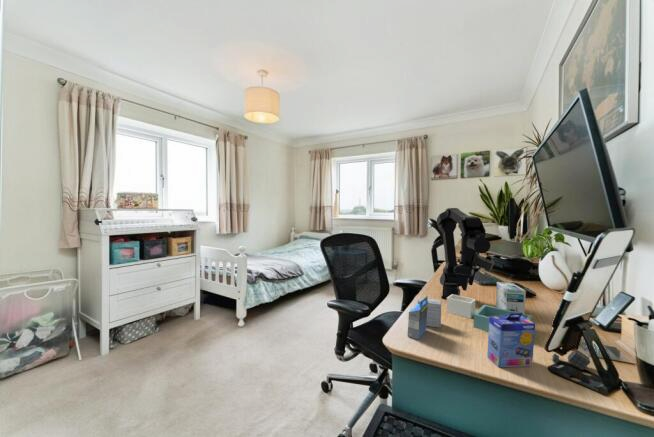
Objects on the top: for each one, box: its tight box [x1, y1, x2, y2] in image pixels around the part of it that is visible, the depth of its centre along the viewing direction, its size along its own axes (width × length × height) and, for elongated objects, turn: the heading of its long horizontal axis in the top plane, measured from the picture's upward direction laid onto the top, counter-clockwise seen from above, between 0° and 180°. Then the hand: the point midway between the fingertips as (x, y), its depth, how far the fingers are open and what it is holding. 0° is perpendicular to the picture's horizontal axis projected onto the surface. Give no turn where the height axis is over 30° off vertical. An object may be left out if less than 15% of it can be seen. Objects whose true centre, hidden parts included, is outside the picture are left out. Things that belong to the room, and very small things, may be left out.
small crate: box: [445, 294, 477, 319], centre depth 109 cm, size 9×6×6 cm, turn 47°
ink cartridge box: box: [487, 313, 536, 368], centre depth 75 cm, size 10×6×14 cm, turn 95°
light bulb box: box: [495, 281, 527, 314], centre depth 111 cm, size 11×7×11 cm, turn 168°
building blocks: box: [552, 348, 591, 371], centre depth 75 cm, size 3×6×8 cm
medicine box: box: [417, 297, 442, 328], centre depth 99 cm, size 8×4×9 cm, turn 71°
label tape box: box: [407, 295, 429, 340], centre depth 92 cm, size 9×4×12 cm, turn 145°
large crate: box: [473, 304, 533, 333], centre depth 96 cm, size 15×13×5 cm
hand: (467, 287), depth 109 cm, fingers open, 9 cm apart
